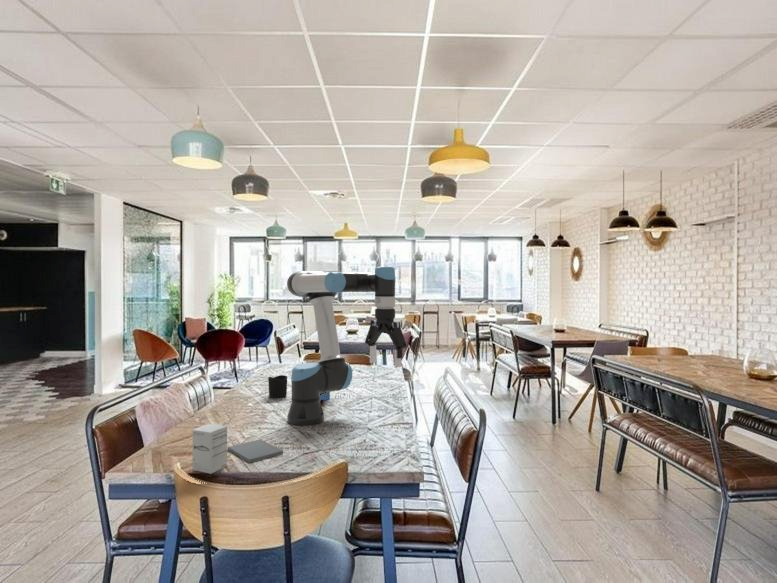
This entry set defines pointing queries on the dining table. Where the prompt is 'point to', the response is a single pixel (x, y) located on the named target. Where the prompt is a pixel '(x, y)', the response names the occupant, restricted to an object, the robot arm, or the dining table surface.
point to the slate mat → (255, 450)
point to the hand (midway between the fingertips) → (385, 365)
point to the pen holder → (277, 386)
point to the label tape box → (325, 396)
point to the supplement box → (209, 448)
